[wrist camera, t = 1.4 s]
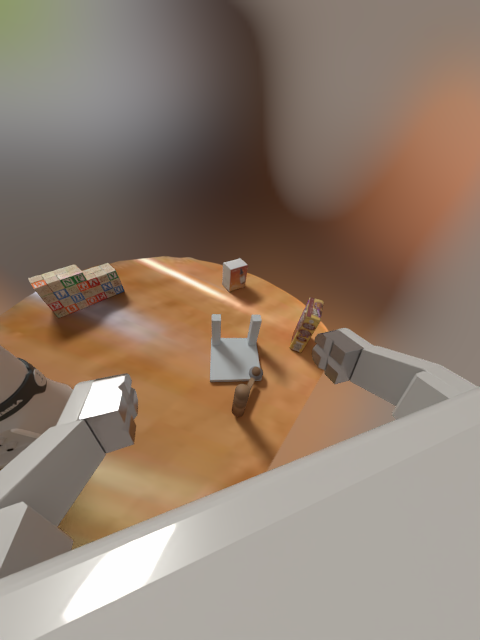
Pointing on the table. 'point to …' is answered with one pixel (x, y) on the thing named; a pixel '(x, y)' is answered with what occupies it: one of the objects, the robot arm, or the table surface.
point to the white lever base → (234, 353)
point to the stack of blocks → (76, 287)
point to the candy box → (307, 324)
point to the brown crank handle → (243, 394)
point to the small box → (234, 274)
